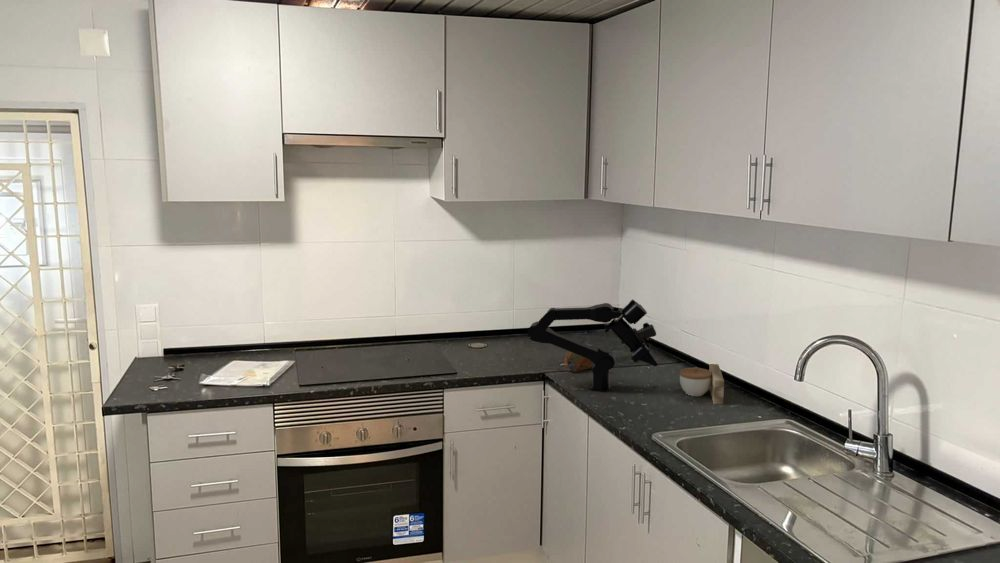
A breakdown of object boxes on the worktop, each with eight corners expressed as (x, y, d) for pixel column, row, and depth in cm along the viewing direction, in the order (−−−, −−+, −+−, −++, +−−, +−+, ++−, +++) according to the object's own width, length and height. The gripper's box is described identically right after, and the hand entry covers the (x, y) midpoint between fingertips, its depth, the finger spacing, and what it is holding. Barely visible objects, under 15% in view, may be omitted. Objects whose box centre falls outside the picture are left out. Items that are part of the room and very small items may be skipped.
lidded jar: (716, 397, 250) (717, 370, 249) (685, 399, 249) (686, 372, 247) (703, 388, 261) (704, 362, 259) (674, 389, 260) (675, 363, 258)
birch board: (713, 403, 244) (714, 380, 243) (708, 385, 264) (709, 363, 262) (723, 404, 244) (724, 380, 242) (717, 386, 263) (718, 364, 262)
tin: (568, 373, 279) (568, 352, 278) (562, 372, 282) (562, 350, 280) (596, 366, 289) (596, 345, 287) (590, 365, 291) (590, 344, 290)
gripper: (642, 323, 245) (675, 357, 245) (642, 311, 263) (673, 343, 263) (617, 345, 248) (650, 379, 248) (619, 332, 266) (650, 363, 266)
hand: (657, 365), depth 256 cm, fingers closed
